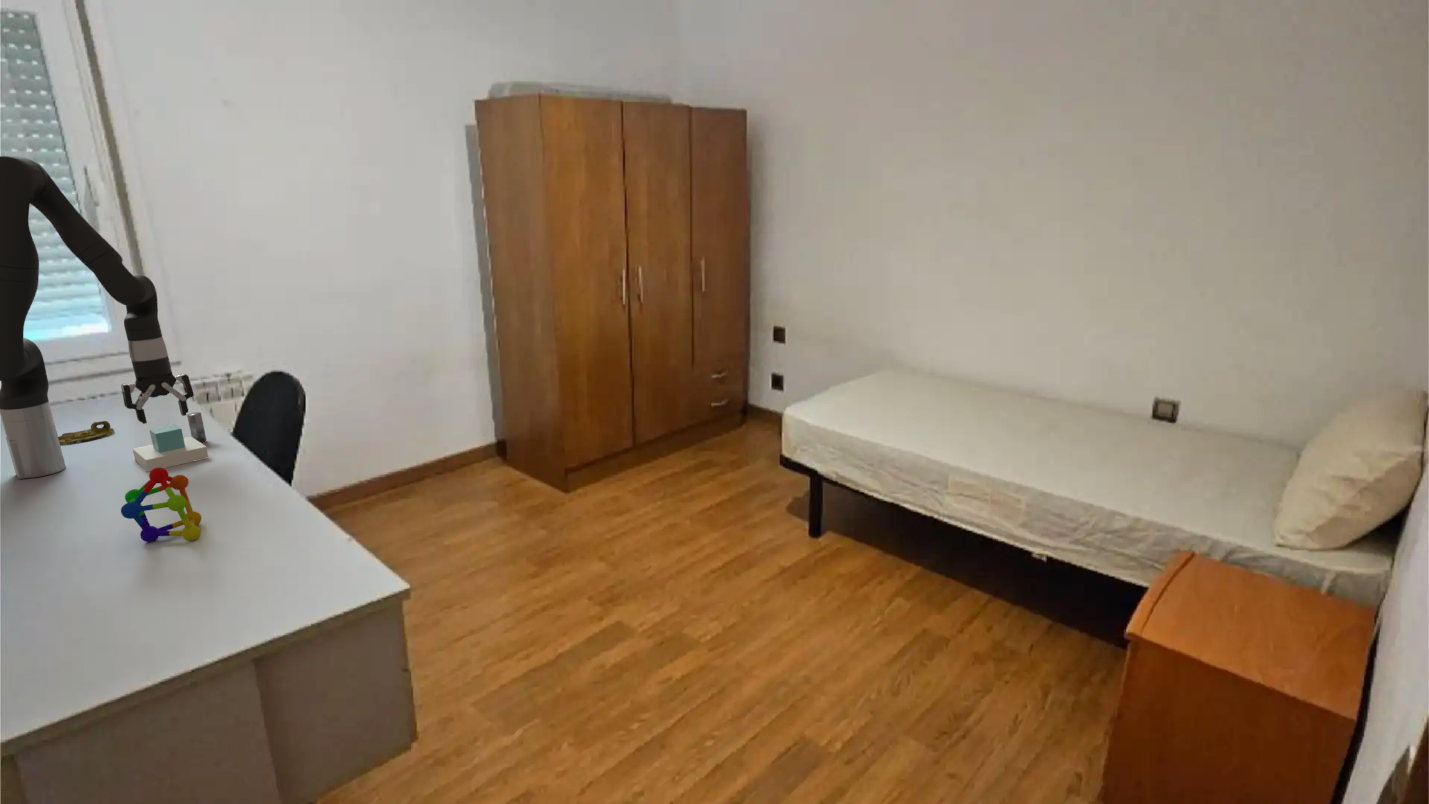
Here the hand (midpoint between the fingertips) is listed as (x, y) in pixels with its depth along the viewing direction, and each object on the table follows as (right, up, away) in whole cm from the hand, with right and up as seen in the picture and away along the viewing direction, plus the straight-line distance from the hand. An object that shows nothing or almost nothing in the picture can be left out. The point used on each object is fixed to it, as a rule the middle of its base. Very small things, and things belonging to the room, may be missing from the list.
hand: (164, 419), depth 198 cm
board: (0, -10, +3) cm, 11 cm away
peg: (-1, -7, +16) cm, 17 cm away
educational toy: (+31, -23, -43) cm, 58 cm away
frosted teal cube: (0, -7, +2) cm, 8 cm away
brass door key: (-38, -6, +21) cm, 43 cm away
